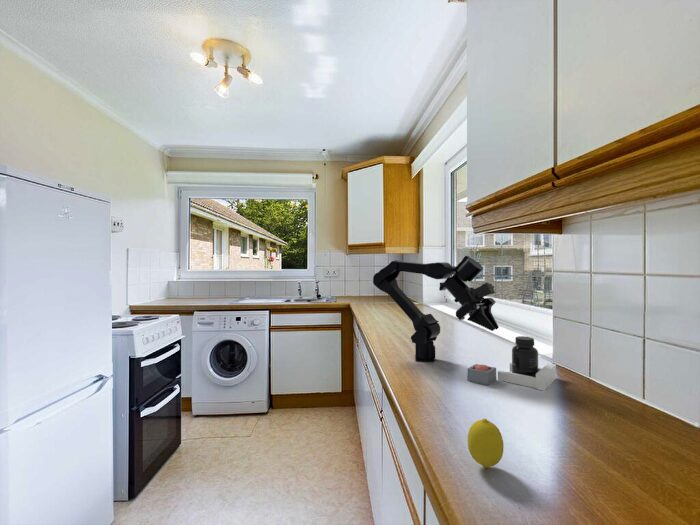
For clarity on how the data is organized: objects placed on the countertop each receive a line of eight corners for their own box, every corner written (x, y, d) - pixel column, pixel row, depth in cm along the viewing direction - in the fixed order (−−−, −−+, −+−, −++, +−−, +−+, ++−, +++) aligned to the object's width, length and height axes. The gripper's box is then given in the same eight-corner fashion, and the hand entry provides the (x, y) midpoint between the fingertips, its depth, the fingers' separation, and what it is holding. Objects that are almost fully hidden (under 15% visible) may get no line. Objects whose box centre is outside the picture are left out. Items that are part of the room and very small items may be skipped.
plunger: (473, 378, 98) (473, 366, 98) (478, 375, 101) (478, 363, 101) (485, 381, 96) (485, 368, 96) (490, 378, 99) (490, 366, 99)
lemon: (494, 457, 59) (493, 411, 59) (510, 477, 54) (509, 426, 54) (462, 458, 59) (462, 412, 59) (475, 478, 53) (474, 427, 53)
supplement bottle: (506, 377, 101) (506, 336, 101) (522, 374, 103) (522, 334, 104) (527, 384, 94) (526, 341, 94) (544, 381, 97) (543, 338, 97)
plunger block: (467, 380, 98) (467, 368, 98) (475, 375, 103) (475, 363, 103) (488, 385, 94) (488, 372, 94) (496, 379, 99) (496, 367, 99)
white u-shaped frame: (496, 380, 98) (496, 366, 98) (511, 370, 107) (511, 357, 108) (544, 390, 90) (544, 375, 90) (556, 378, 99) (555, 364, 99)
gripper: (465, 275, 101) (504, 315, 94) (489, 273, 115) (524, 309, 107) (441, 300, 107) (476, 340, 99) (466, 295, 120) (499, 330, 113)
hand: (495, 329), depth 104 cm, fingers open, 3 cm apart
